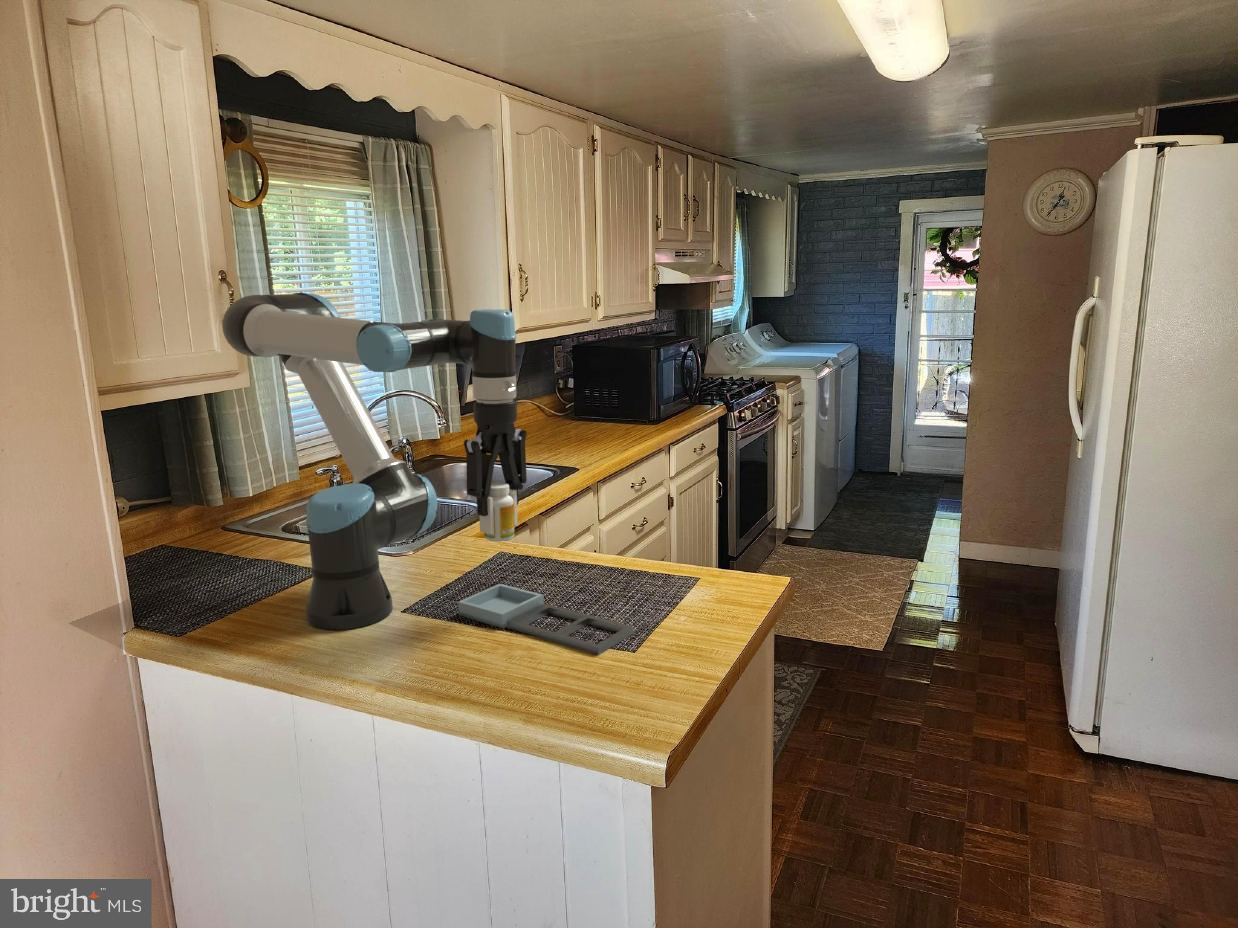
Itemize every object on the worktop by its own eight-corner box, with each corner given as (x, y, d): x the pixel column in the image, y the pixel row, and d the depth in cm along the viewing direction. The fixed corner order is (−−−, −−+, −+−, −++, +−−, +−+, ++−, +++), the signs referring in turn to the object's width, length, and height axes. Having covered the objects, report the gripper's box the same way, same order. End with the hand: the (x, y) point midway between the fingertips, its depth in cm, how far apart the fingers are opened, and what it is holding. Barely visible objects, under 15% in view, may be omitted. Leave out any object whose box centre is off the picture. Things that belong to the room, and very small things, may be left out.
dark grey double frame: (598, 654, 137) (598, 647, 137) (507, 627, 148) (506, 621, 148) (633, 633, 145) (633, 626, 145) (544, 609, 156) (544, 603, 156)
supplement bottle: (515, 532, 155) (514, 481, 153) (513, 542, 150) (511, 489, 148) (486, 532, 155) (484, 481, 153) (482, 542, 150) (480, 489, 147)
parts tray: (503, 628, 148) (502, 614, 148) (458, 615, 155) (458, 601, 154) (543, 607, 157) (543, 594, 156) (500, 596, 163) (499, 583, 163)
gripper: (472, 409, 137) (477, 545, 143) (546, 395, 152) (548, 519, 157) (440, 404, 142) (446, 537, 147) (515, 391, 156) (518, 512, 161)
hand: (498, 527), depth 152 cm, fingers closed on supplement bottle, 5 cm apart
